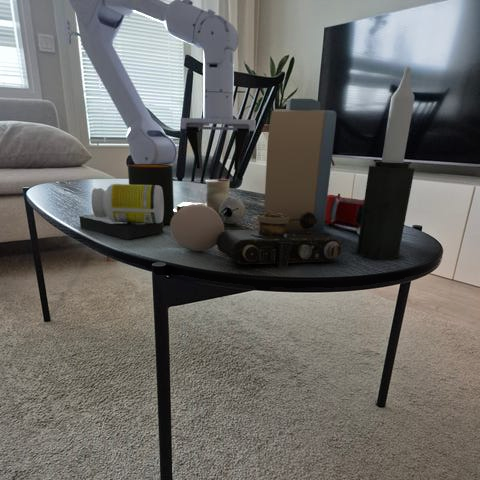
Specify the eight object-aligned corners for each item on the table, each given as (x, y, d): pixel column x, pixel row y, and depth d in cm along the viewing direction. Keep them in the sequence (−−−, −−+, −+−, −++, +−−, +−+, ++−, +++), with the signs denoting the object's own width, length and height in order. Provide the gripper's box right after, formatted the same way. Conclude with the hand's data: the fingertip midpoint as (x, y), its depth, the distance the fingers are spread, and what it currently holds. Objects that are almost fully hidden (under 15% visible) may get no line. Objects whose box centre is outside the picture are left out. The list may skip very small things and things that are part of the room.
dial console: (175, 219, 86) (174, 206, 85) (185, 212, 94) (185, 200, 93) (235, 222, 85) (235, 209, 84) (240, 215, 93) (241, 203, 92)
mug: (185, 215, 90) (183, 163, 85) (165, 226, 79) (163, 167, 75) (148, 213, 91) (145, 162, 87) (124, 223, 80) (119, 165, 76)
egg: (199, 256, 58) (159, 248, 65) (234, 252, 63) (193, 245, 70) (199, 205, 56) (157, 202, 63) (235, 205, 61) (193, 202, 68)
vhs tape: (164, 232, 74) (164, 220, 73) (127, 239, 69) (126, 227, 68) (117, 221, 82) (116, 211, 82) (80, 227, 77) (79, 216, 76)
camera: (321, 210, 64) (351, 218, 57) (316, 253, 66) (343, 266, 59) (217, 209, 58) (236, 218, 51) (216, 256, 61) (233, 270, 54)
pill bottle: (163, 180, 71) (96, 178, 71) (159, 191, 66) (87, 189, 65) (164, 216, 75) (101, 214, 74) (161, 229, 70) (93, 227, 69)
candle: (353, 251, 66) (379, 68, 56) (381, 250, 68) (411, 71, 58) (372, 260, 62) (404, 62, 52) (401, 258, 63) (437, 66, 53)
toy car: (328, 192, 87) (312, 189, 84) (390, 200, 77) (375, 197, 74) (322, 224, 89) (306, 222, 86) (381, 235, 79) (366, 234, 76)
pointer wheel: (203, 206, 86) (203, 179, 84) (208, 203, 91) (208, 177, 89) (226, 207, 86) (227, 180, 84) (230, 204, 90) (230, 178, 88)
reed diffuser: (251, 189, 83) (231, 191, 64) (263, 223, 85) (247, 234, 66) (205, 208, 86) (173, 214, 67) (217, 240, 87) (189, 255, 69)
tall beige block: (321, 250, 66) (338, 95, 58) (262, 245, 68) (270, 94, 59) (324, 225, 85) (337, 106, 76) (277, 222, 87) (285, 105, 78)
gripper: (175, 90, 77) (178, 169, 83) (254, 92, 76) (251, 171, 81) (185, 94, 83) (186, 166, 89) (257, 95, 82) (254, 169, 87)
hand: (217, 169), depth 85 cm, fingers open, 7 cm apart
